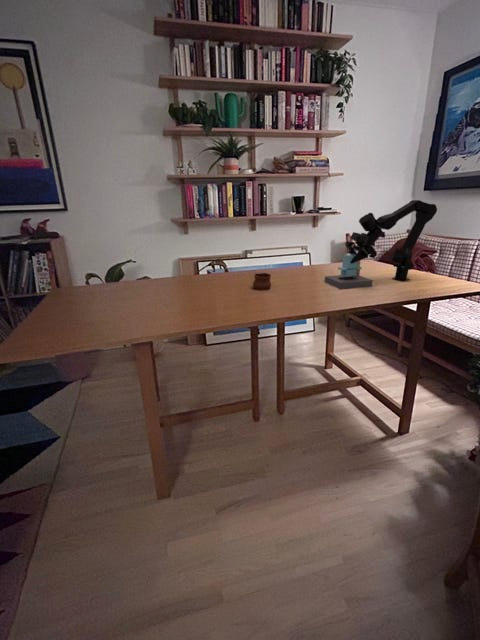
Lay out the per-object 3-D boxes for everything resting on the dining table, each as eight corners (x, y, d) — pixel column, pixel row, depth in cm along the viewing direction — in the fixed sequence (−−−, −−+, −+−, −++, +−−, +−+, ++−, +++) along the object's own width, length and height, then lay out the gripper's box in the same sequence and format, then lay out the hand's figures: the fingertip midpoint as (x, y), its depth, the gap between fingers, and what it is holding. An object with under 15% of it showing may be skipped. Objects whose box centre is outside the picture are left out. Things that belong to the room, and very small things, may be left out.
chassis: (354, 279, 168) (355, 273, 167) (371, 286, 156) (372, 280, 154) (324, 281, 163) (324, 276, 162) (340, 289, 151) (340, 283, 149)
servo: (355, 273, 161) (358, 252, 157) (360, 275, 157) (363, 253, 153) (336, 274, 158) (339, 253, 154) (341, 276, 154) (344, 254, 150)
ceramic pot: (259, 281, 164) (259, 268, 161) (287, 288, 153) (288, 274, 150) (235, 289, 151) (235, 275, 149) (265, 297, 140) (265, 282, 138)
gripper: (350, 224, 158) (328, 247, 159) (375, 228, 142) (351, 254, 143) (361, 240, 163) (340, 262, 164) (387, 245, 147) (363, 270, 148)
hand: (348, 262), depth 155 cm, fingers closed on servo, 4 cm apart
